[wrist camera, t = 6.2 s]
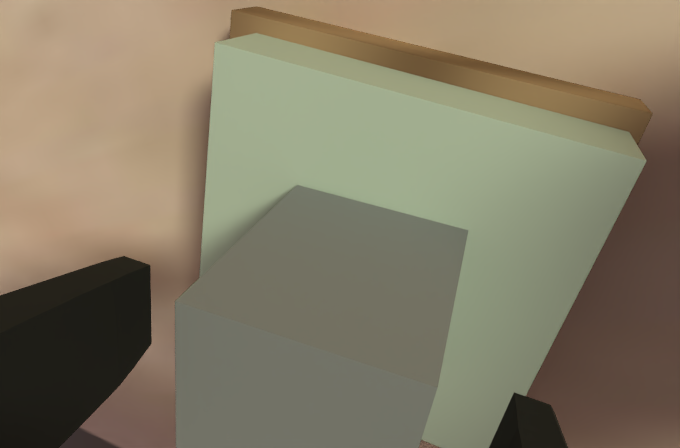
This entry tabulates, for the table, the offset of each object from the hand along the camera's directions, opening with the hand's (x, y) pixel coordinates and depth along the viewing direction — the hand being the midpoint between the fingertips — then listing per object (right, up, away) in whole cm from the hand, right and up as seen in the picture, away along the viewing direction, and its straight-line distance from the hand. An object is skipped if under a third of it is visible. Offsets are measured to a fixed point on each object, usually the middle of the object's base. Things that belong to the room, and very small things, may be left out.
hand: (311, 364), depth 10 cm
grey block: (+1, +1, +3) cm, 3 cm away
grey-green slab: (+2, +2, +5) cm, 5 cm away
